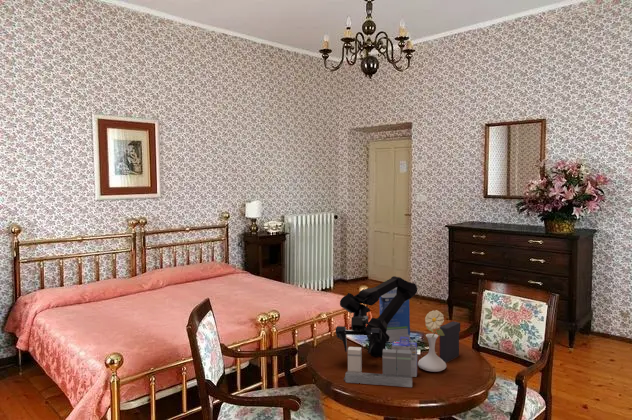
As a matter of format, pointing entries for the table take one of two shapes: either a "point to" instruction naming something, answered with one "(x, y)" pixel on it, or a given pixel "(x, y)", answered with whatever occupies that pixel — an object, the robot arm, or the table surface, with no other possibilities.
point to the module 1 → (355, 359)
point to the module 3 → (404, 362)
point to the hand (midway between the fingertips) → (357, 352)
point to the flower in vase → (433, 343)
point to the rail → (378, 379)
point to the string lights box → (396, 318)
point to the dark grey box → (449, 341)
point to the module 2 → (389, 361)
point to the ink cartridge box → (407, 346)
